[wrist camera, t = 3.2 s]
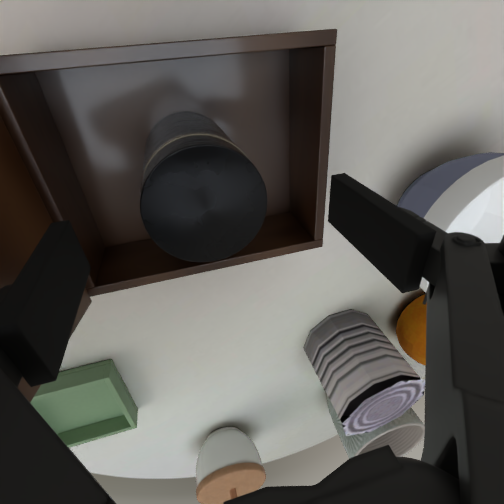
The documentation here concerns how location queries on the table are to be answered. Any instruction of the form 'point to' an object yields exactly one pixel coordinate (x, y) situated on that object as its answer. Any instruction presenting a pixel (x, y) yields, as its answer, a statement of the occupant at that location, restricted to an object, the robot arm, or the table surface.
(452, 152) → the table surface
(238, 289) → the table surface
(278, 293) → the table surface
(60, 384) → the tray
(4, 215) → the lid
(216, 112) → the chest
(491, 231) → the bowl
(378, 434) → the planter
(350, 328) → the can
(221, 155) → the black canister
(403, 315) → the fruit
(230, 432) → the trinket box
